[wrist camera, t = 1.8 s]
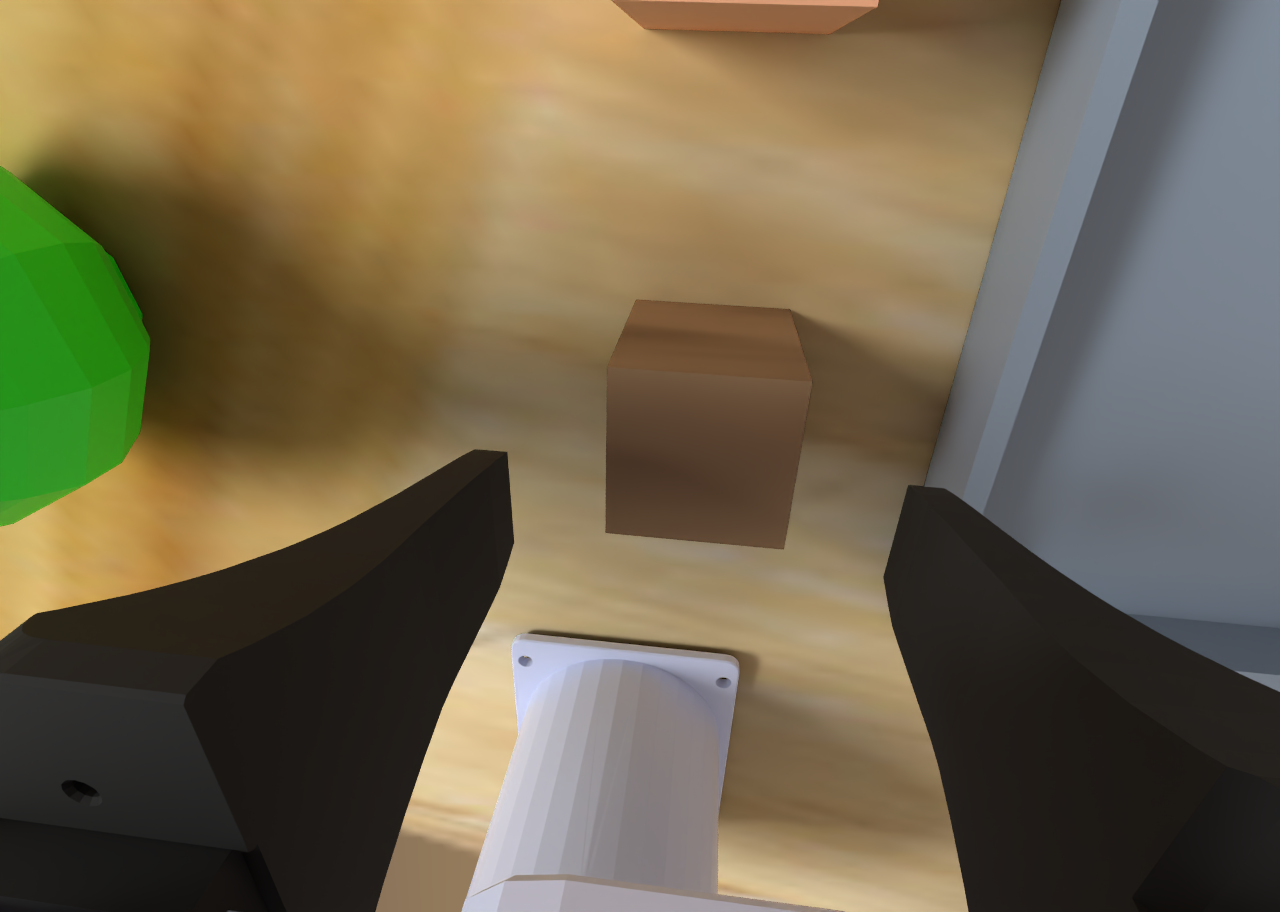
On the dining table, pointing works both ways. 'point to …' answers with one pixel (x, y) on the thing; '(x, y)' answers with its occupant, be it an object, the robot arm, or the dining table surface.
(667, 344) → the walnut block
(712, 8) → the terracotta block
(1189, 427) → the tray
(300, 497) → the dining table surface
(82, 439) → the plastic bottle
